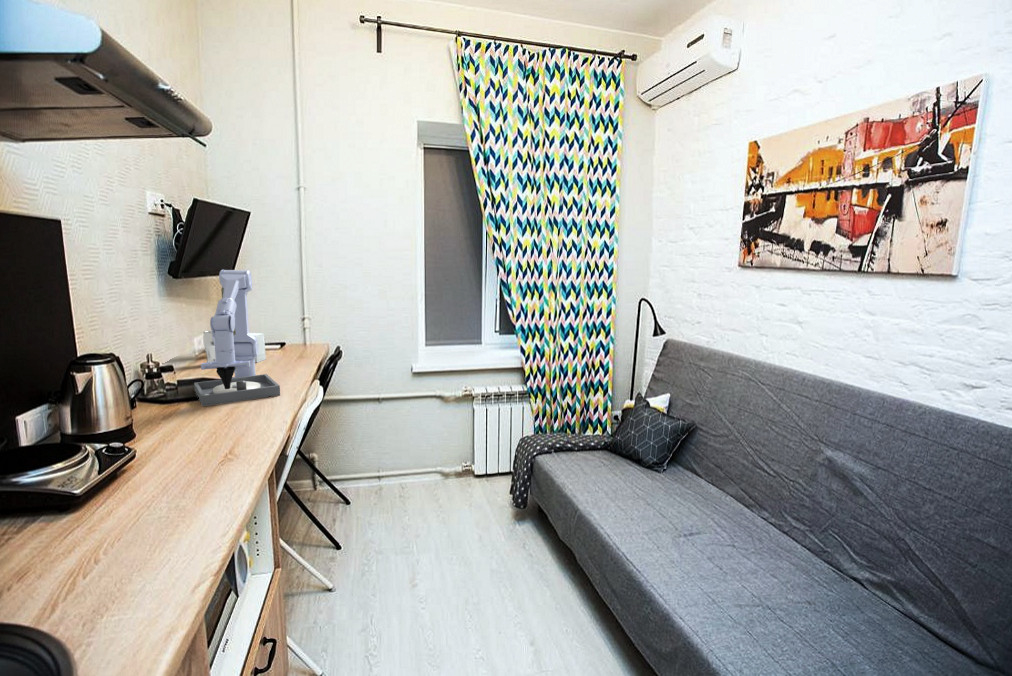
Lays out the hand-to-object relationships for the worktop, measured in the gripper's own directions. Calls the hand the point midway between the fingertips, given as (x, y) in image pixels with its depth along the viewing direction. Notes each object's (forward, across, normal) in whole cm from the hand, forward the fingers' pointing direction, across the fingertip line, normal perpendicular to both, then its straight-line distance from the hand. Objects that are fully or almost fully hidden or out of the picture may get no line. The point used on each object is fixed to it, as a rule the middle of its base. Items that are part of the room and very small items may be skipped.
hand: (227, 388), depth 167 cm
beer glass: (+4, -14, +57) cm, 59 cm away
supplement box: (+4, +1, +62) cm, 62 cm away
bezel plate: (+4, +2, +6) cm, 8 cm away
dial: (+3, +2, +6) cm, 7 cm away
